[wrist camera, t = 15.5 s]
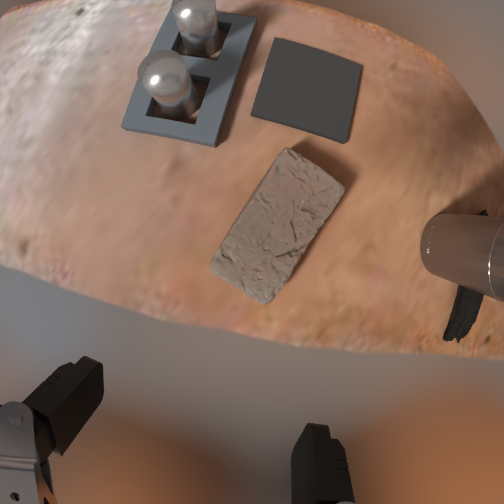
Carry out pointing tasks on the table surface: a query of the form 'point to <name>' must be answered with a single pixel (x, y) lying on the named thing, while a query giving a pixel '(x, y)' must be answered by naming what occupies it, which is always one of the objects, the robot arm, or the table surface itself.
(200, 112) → the grey slotted holder
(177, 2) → the cylinder
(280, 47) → the mat
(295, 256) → the brick
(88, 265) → the table surface
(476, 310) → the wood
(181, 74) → the cylinder
